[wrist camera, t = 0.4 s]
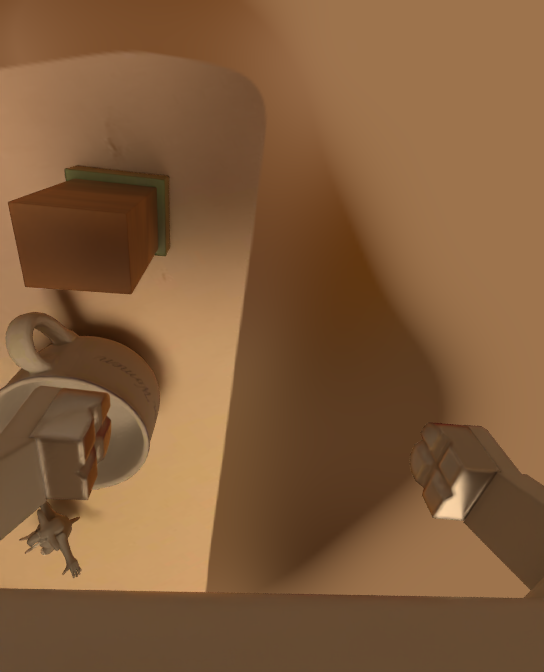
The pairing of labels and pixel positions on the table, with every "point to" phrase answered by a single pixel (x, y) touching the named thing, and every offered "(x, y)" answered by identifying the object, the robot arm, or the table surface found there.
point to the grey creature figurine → (53, 536)
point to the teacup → (87, 386)
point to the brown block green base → (92, 230)
